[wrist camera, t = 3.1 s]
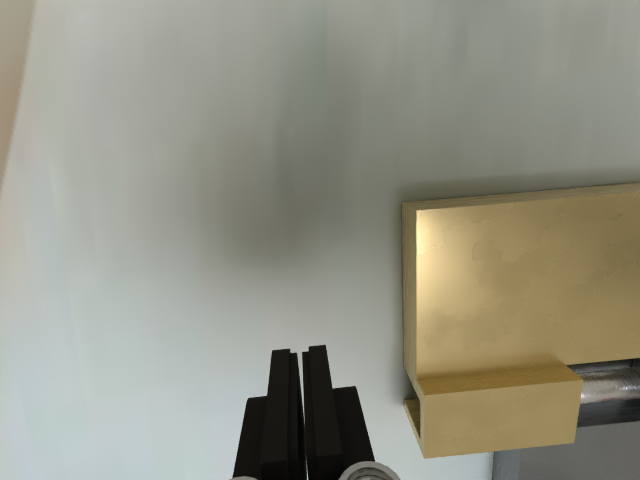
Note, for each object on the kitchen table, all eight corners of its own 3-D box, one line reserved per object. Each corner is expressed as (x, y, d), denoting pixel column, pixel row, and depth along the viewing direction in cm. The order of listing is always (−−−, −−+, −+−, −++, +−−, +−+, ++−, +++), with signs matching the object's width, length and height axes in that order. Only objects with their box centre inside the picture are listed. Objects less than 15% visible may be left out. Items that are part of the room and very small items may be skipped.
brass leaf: (698, 177, 19) (789, 185, 15) (654, 383, 22) (720, 427, 18) (402, 202, 18) (425, 215, 15) (404, 408, 22) (424, 458, 18)
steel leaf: (758, 322, 21) (850, 358, 18) (711, 485, 25) (780, 542, 21) (485, 348, 21) (523, 390, 17) (476, 510, 24) (506, 573, 21)
